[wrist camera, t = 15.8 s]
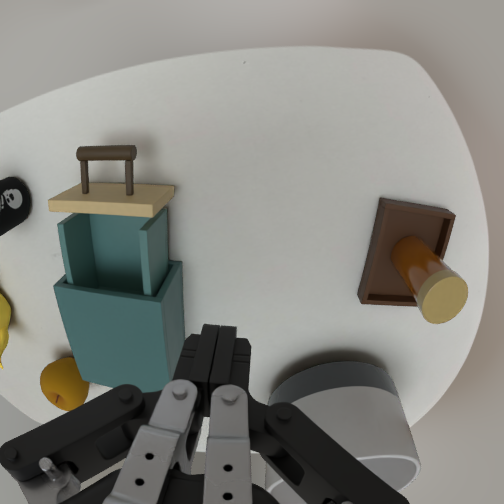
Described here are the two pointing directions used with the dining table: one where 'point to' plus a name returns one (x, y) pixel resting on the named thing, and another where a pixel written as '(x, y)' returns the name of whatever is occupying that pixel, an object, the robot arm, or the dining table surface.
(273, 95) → the dining table surface
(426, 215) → the tray
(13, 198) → the beverage can
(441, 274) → the honey jar
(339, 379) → the planter
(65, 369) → the apple
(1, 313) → the teapot
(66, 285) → the cabinet
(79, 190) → the drawer
